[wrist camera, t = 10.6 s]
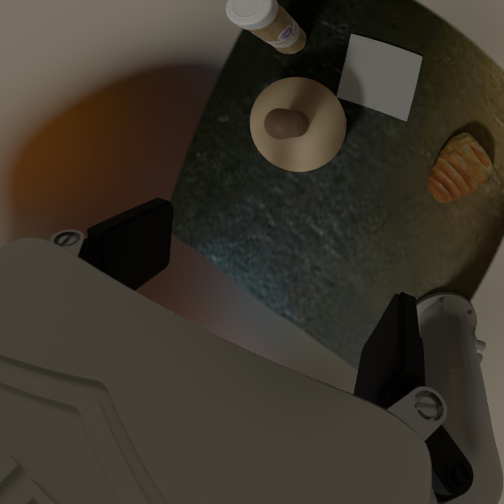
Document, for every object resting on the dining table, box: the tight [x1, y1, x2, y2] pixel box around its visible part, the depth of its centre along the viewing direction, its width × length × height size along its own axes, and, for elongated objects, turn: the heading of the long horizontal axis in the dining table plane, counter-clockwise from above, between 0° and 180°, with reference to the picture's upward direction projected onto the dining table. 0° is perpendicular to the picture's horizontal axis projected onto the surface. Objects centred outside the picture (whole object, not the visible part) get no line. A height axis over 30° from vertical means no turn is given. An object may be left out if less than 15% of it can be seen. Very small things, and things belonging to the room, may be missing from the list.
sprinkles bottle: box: [226, 0, 306, 54], centre depth 24 cm, size 5×5×14 cm
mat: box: [336, 34, 422, 122], centre depth 28 cm, size 9×9×1 cm
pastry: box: [427, 132, 493, 203], centre depth 27 cm, size 9×7×4 cm
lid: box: [250, 77, 346, 172], centre depth 28 cm, size 11×11×7 cm
